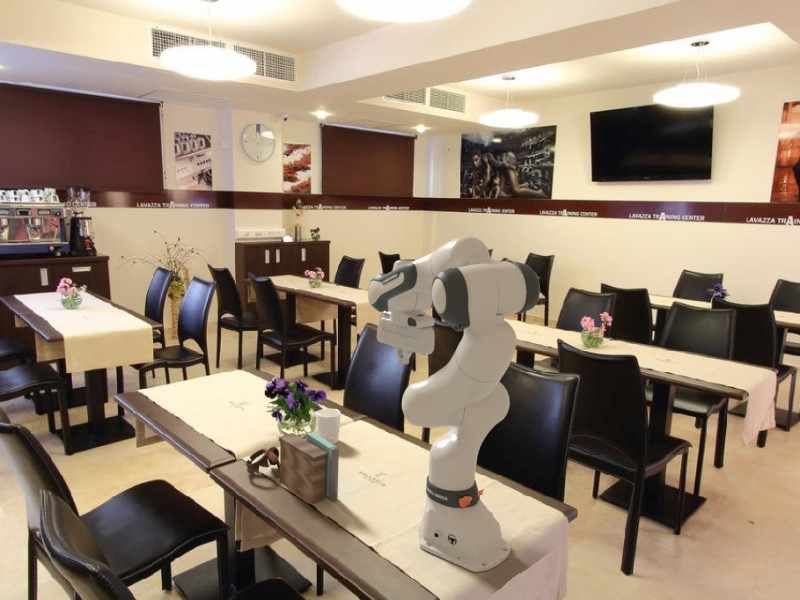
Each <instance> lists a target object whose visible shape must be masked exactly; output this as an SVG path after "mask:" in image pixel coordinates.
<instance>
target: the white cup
mask: <svg viewBox="0 0 800 600" xmlns="http://www.w3.org/2000/svg"><path fill="white" fill-rule="evenodd" d="M341 415H342V413H341V411H340V410H338V409H336V408H323V409H319V410H318V411H317V412H316V428H317V430H316V431H317V433H316V434H317V435H319V436H320V437H322V438H323V439H325V440H327V441H328V442H330V443H331V444H333V445H336V444H337V443H338V442H339V434H340V428H341V426H340V425H341Z"/></svg>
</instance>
